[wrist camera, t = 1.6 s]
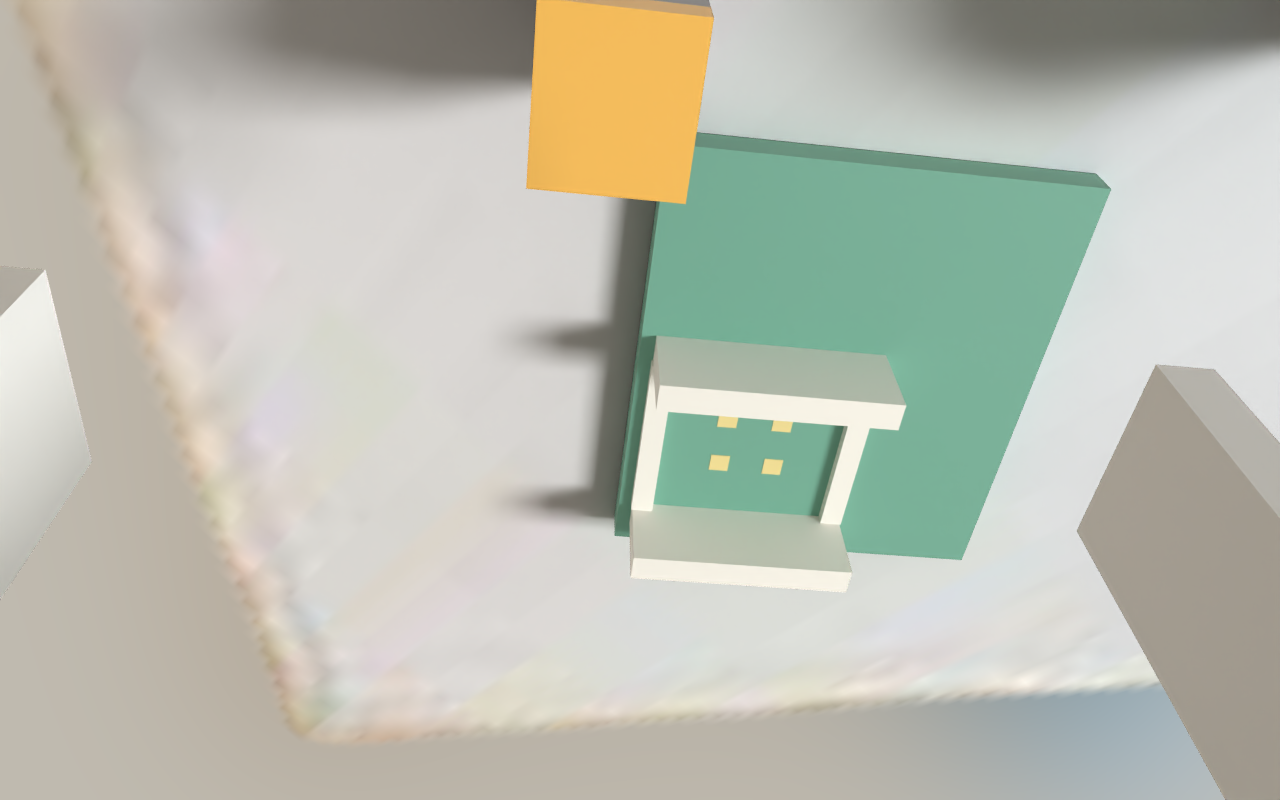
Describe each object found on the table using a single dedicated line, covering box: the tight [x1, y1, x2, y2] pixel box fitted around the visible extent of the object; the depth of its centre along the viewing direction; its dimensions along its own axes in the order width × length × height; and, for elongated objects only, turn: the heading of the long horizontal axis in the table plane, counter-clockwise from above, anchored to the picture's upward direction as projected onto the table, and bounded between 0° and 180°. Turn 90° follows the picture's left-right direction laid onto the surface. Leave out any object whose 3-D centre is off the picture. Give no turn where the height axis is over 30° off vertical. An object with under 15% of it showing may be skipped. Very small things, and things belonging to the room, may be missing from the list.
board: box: [615, 133, 1111, 592], centre depth 35 cm, size 16×14×4 cm
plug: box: [526, 0, 714, 204], centre depth 26 cm, size 5×4×10 cm
